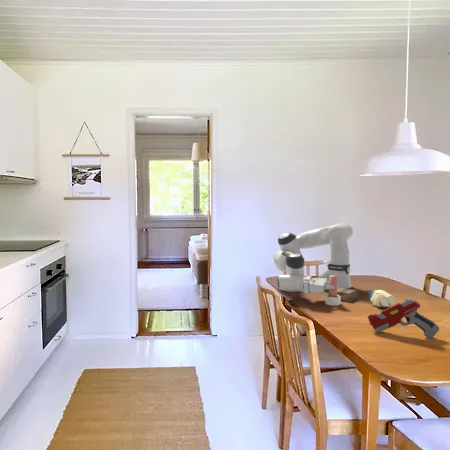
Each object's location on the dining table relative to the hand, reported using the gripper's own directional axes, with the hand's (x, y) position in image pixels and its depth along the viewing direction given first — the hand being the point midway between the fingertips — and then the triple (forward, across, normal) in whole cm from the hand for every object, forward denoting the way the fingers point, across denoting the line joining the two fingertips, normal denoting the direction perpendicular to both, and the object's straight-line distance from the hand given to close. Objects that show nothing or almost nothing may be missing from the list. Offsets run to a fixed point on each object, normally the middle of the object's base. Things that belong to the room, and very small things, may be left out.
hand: (334, 286), depth 213 cm
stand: (+4, -13, -10) cm, 17 cm away
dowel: (-1, 0, -9) cm, 9 cm away
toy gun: (+30, +38, -10) cm, 49 cm away
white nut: (-1, 0, -10) cm, 10 cm away
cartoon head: (+21, -6, -10) cm, 24 cm away
